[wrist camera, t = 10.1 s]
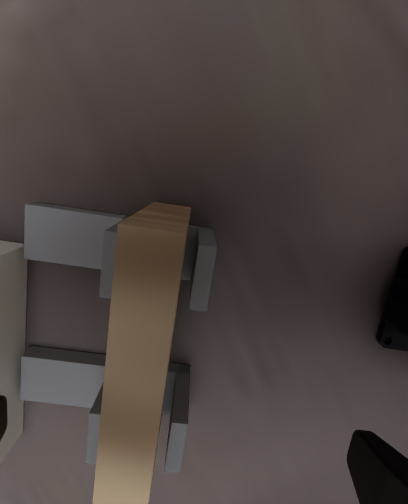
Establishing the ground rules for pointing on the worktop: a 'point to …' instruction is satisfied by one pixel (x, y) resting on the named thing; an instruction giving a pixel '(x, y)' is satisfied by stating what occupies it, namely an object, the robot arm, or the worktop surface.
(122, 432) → the door panel
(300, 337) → the worktop surface
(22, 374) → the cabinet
